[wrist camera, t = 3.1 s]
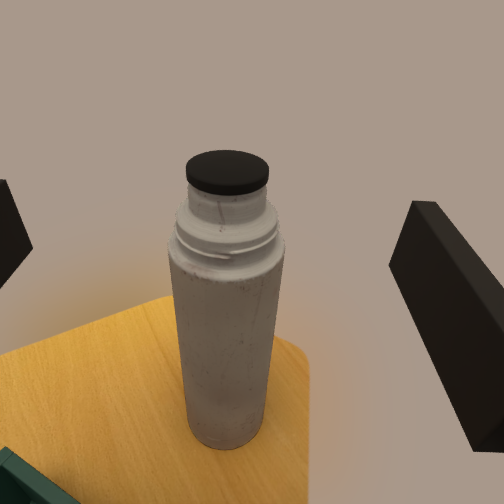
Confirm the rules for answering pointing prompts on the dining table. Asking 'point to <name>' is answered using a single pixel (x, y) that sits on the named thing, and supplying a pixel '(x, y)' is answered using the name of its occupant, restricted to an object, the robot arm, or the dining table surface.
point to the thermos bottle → (226, 294)
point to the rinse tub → (27, 483)
